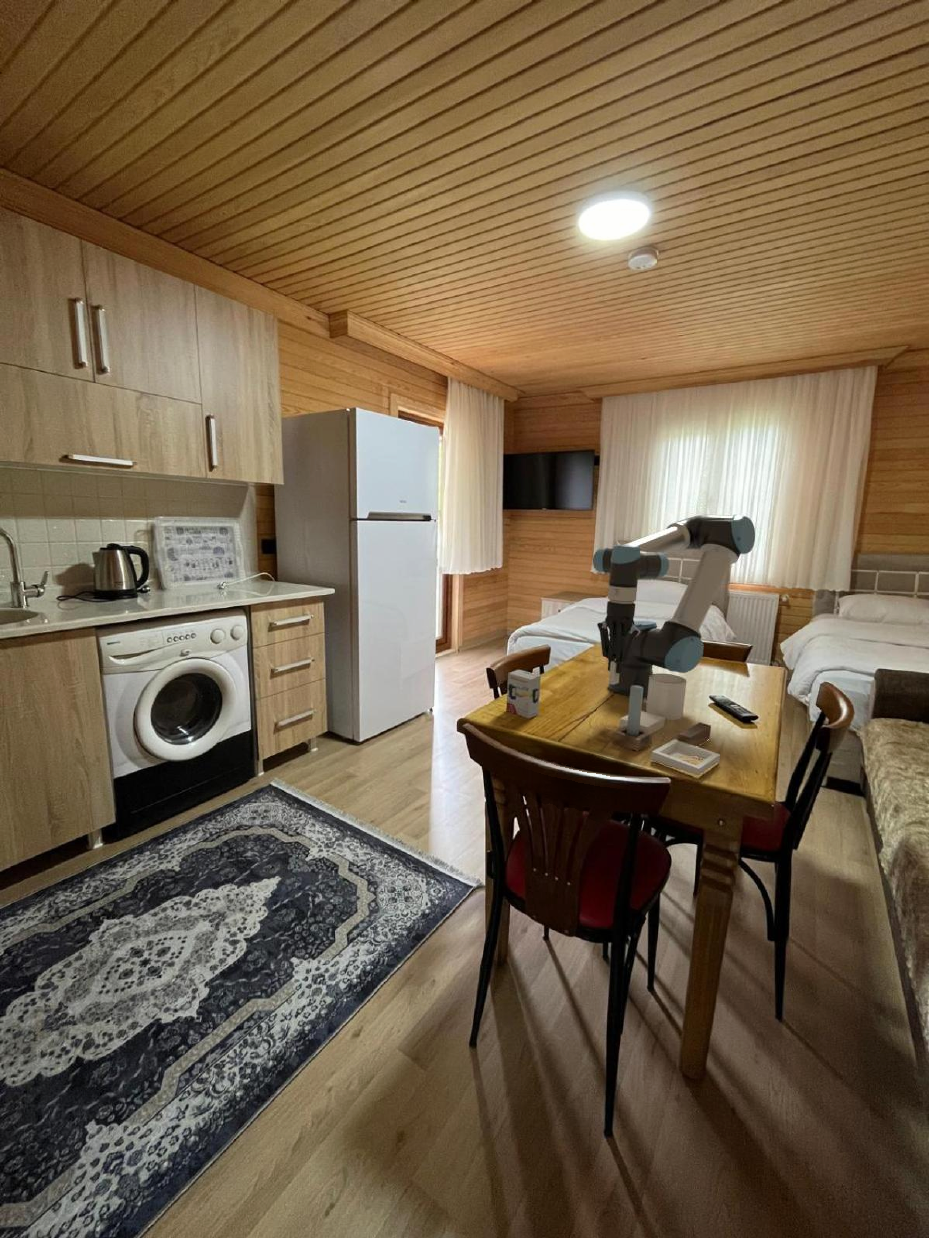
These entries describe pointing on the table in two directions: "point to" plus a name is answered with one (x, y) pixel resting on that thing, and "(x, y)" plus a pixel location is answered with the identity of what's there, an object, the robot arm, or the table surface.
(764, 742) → the table surface
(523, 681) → the ink box
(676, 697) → the mug
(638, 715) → the dowel
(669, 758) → the tray
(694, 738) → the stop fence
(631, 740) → the socket block
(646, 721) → the white flat block
